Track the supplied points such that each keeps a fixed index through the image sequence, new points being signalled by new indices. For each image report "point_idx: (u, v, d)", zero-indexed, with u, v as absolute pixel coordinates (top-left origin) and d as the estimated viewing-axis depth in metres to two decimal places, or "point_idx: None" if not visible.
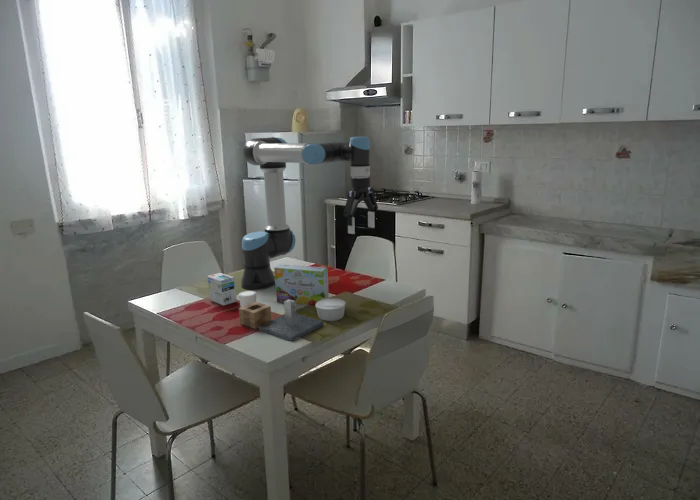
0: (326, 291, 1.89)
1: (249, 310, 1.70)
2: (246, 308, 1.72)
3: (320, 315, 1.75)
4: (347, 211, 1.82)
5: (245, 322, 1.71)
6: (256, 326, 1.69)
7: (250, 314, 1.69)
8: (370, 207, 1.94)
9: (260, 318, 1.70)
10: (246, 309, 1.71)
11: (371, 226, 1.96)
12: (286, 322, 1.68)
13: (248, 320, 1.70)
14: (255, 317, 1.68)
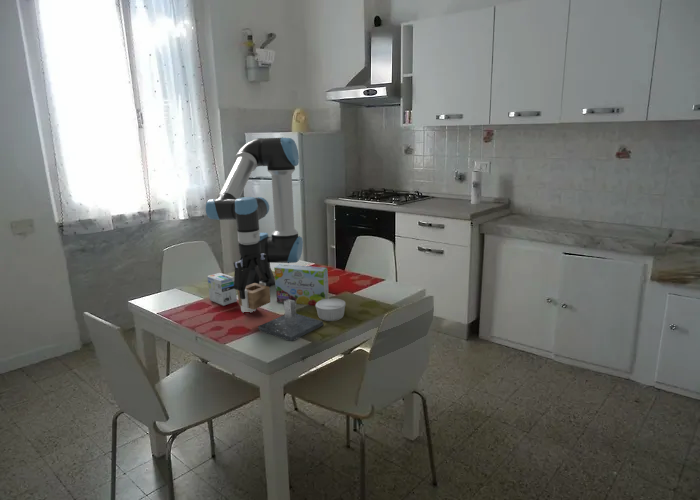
0: (326, 291, 1.89)
1: (248, 291, 1.68)
2: (245, 288, 1.71)
3: (320, 315, 1.75)
4: (237, 285, 1.64)
5: None
6: (255, 307, 1.68)
7: (249, 295, 1.67)
8: (261, 276, 1.73)
9: (259, 299, 1.69)
10: None
11: None
12: (286, 322, 1.68)
13: None
14: (254, 297, 1.67)
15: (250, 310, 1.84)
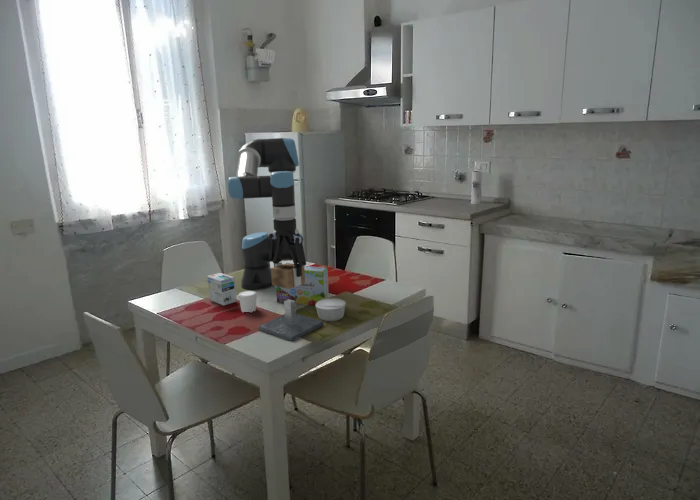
0: (326, 291, 1.89)
1: (279, 266, 1.65)
2: (286, 265, 1.66)
3: (320, 315, 1.75)
4: None
5: None
6: (273, 283, 1.64)
7: None
8: None
9: (277, 278, 1.62)
10: (282, 265, 1.66)
11: None
12: (286, 322, 1.68)
13: None
14: (272, 273, 1.63)
15: (250, 310, 1.84)
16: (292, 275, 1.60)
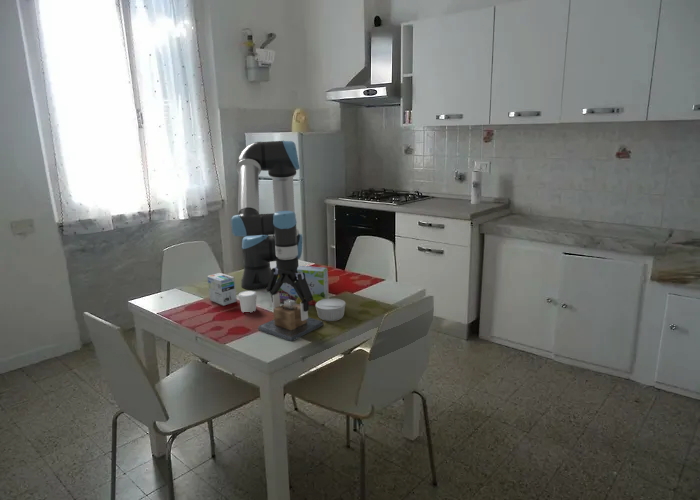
0: (326, 291, 1.89)
1: (281, 306, 1.68)
2: None
3: (320, 315, 1.75)
4: None
5: None
6: (276, 323, 1.67)
7: None
8: None
9: (280, 318, 1.66)
10: None
11: None
12: None
13: None
14: (275, 314, 1.67)
15: (250, 310, 1.84)
16: (294, 316, 1.64)
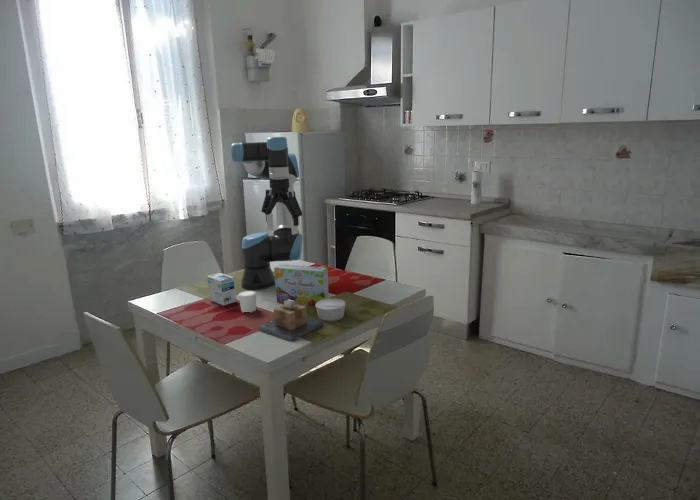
0: (326, 291, 1.89)
1: (281, 306, 1.68)
2: None
3: (320, 315, 1.75)
4: None
5: None
6: (276, 323, 1.67)
7: None
8: None
9: (280, 318, 1.66)
10: None
11: None
12: None
13: None
14: (275, 314, 1.67)
15: (250, 310, 1.84)
16: (294, 316, 1.64)
